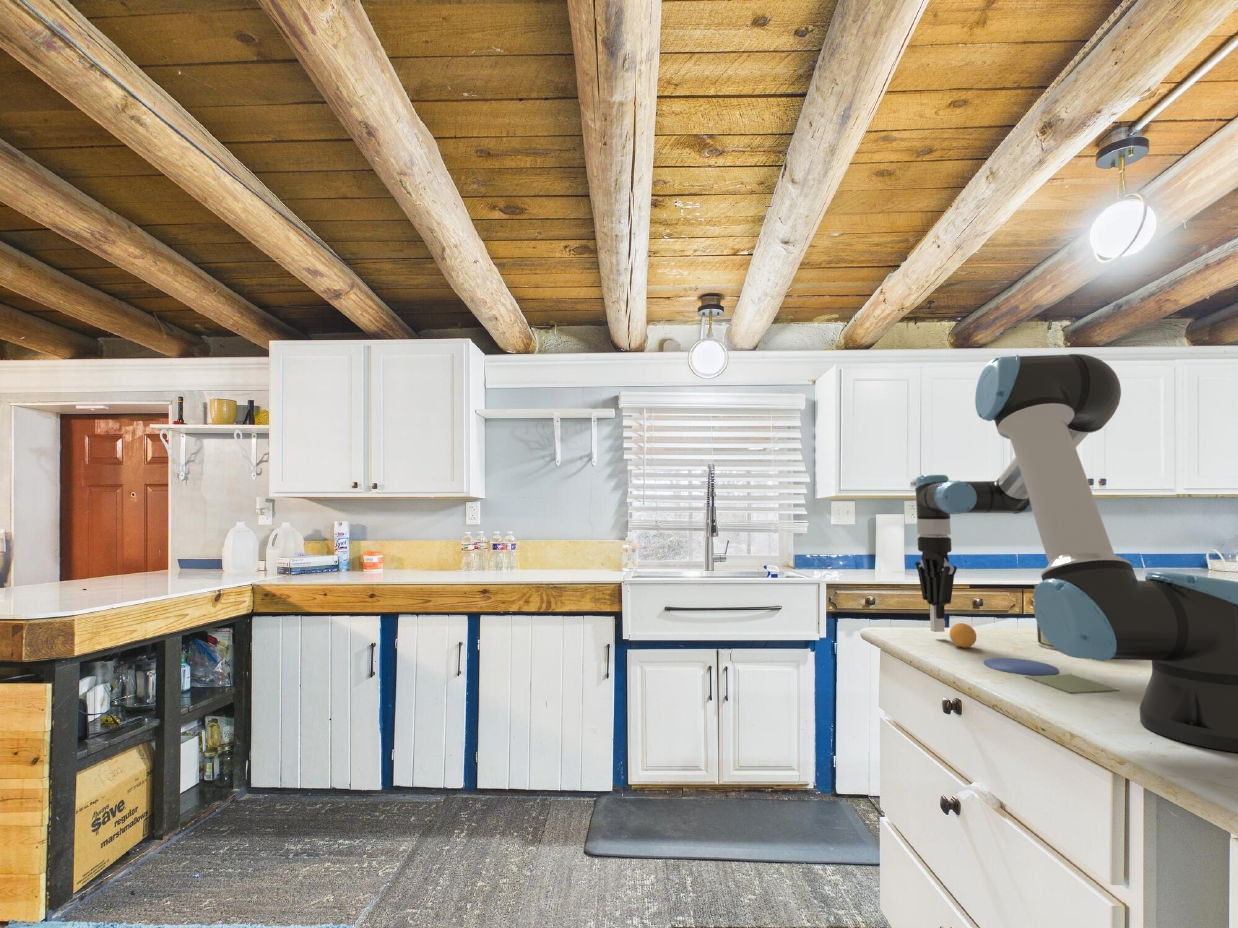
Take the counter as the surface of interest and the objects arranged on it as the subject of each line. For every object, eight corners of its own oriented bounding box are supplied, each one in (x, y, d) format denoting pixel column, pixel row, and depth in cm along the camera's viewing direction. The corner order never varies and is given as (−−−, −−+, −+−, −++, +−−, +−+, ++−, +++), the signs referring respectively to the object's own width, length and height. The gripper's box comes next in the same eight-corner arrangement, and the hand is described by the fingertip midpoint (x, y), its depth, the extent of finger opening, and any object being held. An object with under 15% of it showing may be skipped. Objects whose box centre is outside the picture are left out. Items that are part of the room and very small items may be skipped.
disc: (1072, 677, 118) (1072, 676, 118) (997, 673, 121) (997, 672, 121) (1041, 660, 131) (1041, 659, 131) (974, 657, 134) (974, 656, 134)
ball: (980, 650, 139) (979, 626, 140) (954, 649, 141) (953, 625, 141) (972, 645, 145) (971, 621, 145) (946, 644, 146) (946, 620, 146)
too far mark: (1119, 690, 110) (1119, 689, 110) (1070, 693, 108) (1070, 692, 108) (1071, 675, 120) (1071, 674, 120) (1025, 677, 118) (1025, 676, 118)
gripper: (965, 537, 147) (969, 636, 146) (931, 534, 160) (934, 625, 159) (937, 537, 146) (940, 637, 145) (904, 534, 159) (907, 626, 158)
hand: (937, 630), depth 152 cm, fingers closed
